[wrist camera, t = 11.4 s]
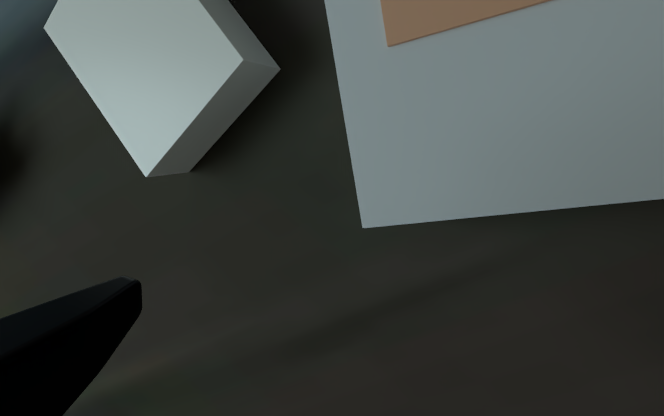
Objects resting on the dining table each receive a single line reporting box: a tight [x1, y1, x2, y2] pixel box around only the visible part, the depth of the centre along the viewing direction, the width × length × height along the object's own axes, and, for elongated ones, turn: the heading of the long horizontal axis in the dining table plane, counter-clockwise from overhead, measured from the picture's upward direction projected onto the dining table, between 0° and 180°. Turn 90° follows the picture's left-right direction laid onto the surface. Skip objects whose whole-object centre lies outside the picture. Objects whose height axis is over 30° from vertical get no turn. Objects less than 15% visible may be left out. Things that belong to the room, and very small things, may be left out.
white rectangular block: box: [44, 0, 280, 177], centre depth 21 cm, size 10×8×3 cm
